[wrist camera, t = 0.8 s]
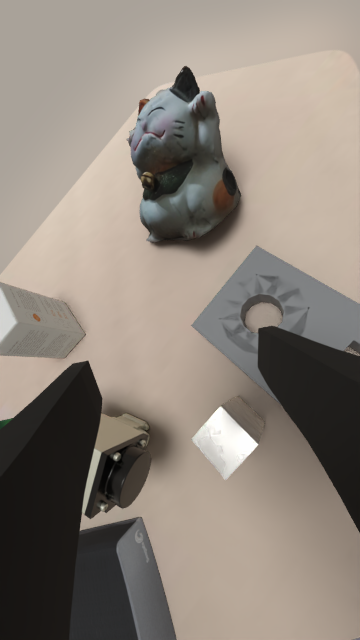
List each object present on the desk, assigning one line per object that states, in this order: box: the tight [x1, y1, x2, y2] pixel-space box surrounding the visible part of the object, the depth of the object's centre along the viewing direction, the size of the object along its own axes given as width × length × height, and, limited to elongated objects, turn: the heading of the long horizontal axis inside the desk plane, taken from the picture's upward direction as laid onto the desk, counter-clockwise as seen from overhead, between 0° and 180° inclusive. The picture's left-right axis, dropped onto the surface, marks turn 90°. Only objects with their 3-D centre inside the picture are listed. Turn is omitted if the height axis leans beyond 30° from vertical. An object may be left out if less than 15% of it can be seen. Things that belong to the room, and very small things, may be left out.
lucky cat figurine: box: [127, 66, 241, 243], centre depth 27 cm, size 15×12×14 cm
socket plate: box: [191, 246, 360, 403], centre depth 22 cm, size 20×11×3 cm, turn 47°
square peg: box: [191, 396, 265, 480], centre depth 21 cm, size 4×4×8 cm
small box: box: [0, 282, 85, 358], centre depth 33 cm, size 8×6×10 cm
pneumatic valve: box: [82, 413, 151, 519], centre depth 24 cm, size 6×12×12 cm, turn 75°
